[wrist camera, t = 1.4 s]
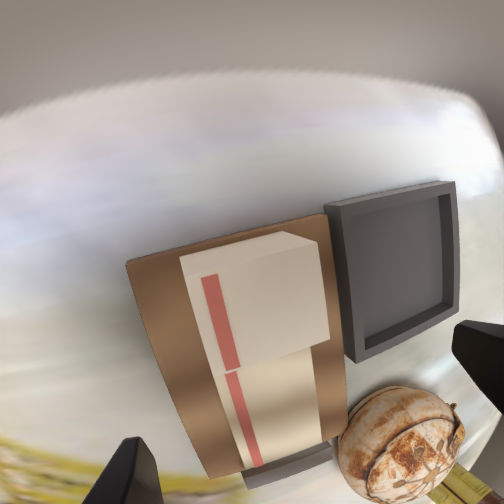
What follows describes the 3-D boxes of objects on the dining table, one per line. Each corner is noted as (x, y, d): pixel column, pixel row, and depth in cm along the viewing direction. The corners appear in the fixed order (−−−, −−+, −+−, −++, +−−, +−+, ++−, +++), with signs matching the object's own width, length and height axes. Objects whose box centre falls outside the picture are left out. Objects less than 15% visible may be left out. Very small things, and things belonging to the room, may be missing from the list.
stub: (296, 309, 20) (331, 340, 16) (201, 337, 19) (213, 378, 14) (282, 230, 19) (318, 242, 14) (179, 256, 17) (184, 277, 13)
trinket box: (402, 468, 30) (438, 505, 22) (299, 485, 25) (332, 542, 18) (455, 376, 29) (504, 408, 21) (356, 375, 24) (416, 428, 17)
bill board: (341, 423, 25) (361, 446, 21) (207, 469, 22) (215, 499, 19) (318, 213, 20) (346, 217, 17) (127, 260, 18) (120, 275, 15)
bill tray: (443, 305, 25) (458, 311, 23) (342, 352, 23) (355, 364, 21) (437, 181, 23) (454, 181, 21) (323, 204, 20) (339, 205, 19)
